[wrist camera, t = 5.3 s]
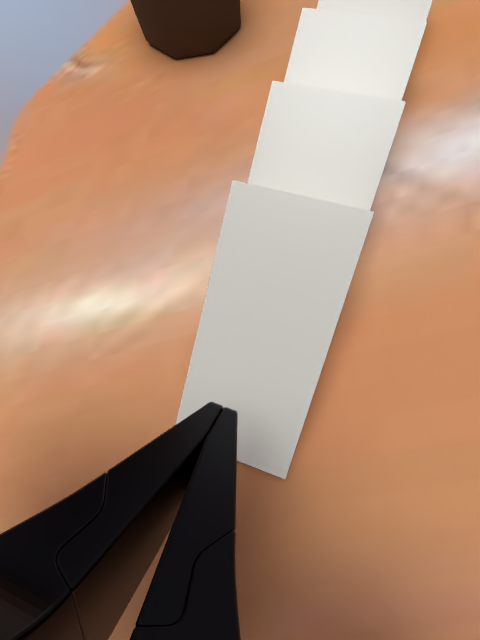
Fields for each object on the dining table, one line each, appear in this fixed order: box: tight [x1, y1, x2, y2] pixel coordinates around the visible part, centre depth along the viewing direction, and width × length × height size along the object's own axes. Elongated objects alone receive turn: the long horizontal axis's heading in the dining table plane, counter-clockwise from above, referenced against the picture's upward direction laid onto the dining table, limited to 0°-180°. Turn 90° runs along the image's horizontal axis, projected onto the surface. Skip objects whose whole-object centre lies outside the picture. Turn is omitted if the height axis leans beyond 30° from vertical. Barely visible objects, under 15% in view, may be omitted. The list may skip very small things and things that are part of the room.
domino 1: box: [176, 180, 374, 479], centre depth 14 cm, size 2×5×11 cm
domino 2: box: [248, 81, 406, 210], centre depth 15 cm, size 2×5×11 cm
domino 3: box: [284, 8, 427, 101], centre depth 16 cm, size 2×5×11 cm
